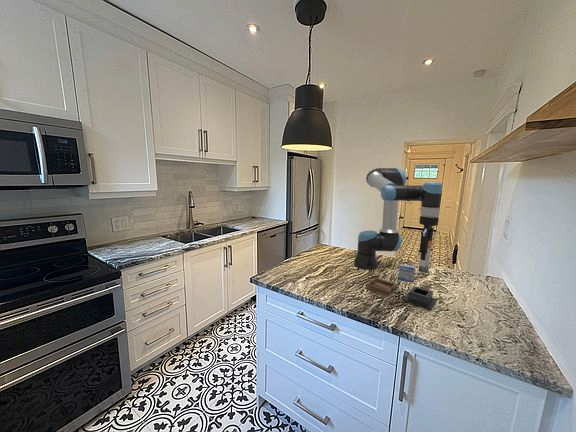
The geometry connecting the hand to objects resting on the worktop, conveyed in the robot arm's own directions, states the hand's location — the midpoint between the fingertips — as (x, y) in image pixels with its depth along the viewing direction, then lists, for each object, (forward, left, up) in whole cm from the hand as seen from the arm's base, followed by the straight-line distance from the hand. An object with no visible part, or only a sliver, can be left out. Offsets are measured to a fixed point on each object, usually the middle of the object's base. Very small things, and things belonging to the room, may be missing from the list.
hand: (423, 264), depth 116 cm
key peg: (0, 0, -3) cm, 3 cm away
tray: (0, -19, -19) cm, 27 cm away
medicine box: (-22, -13, -19) cm, 32 cm away
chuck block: (0, 0, -19) cm, 19 cm away
